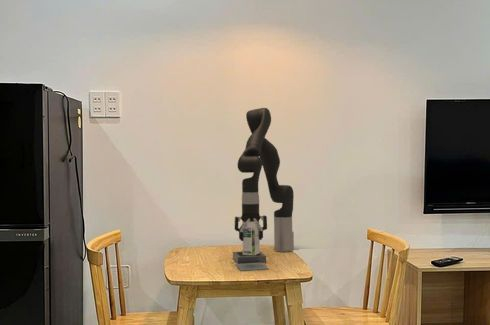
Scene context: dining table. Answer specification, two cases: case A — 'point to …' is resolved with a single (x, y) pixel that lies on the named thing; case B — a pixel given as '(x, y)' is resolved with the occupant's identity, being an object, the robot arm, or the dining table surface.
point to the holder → (249, 258)
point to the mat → (251, 266)
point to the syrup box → (251, 238)
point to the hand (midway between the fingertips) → (251, 240)
